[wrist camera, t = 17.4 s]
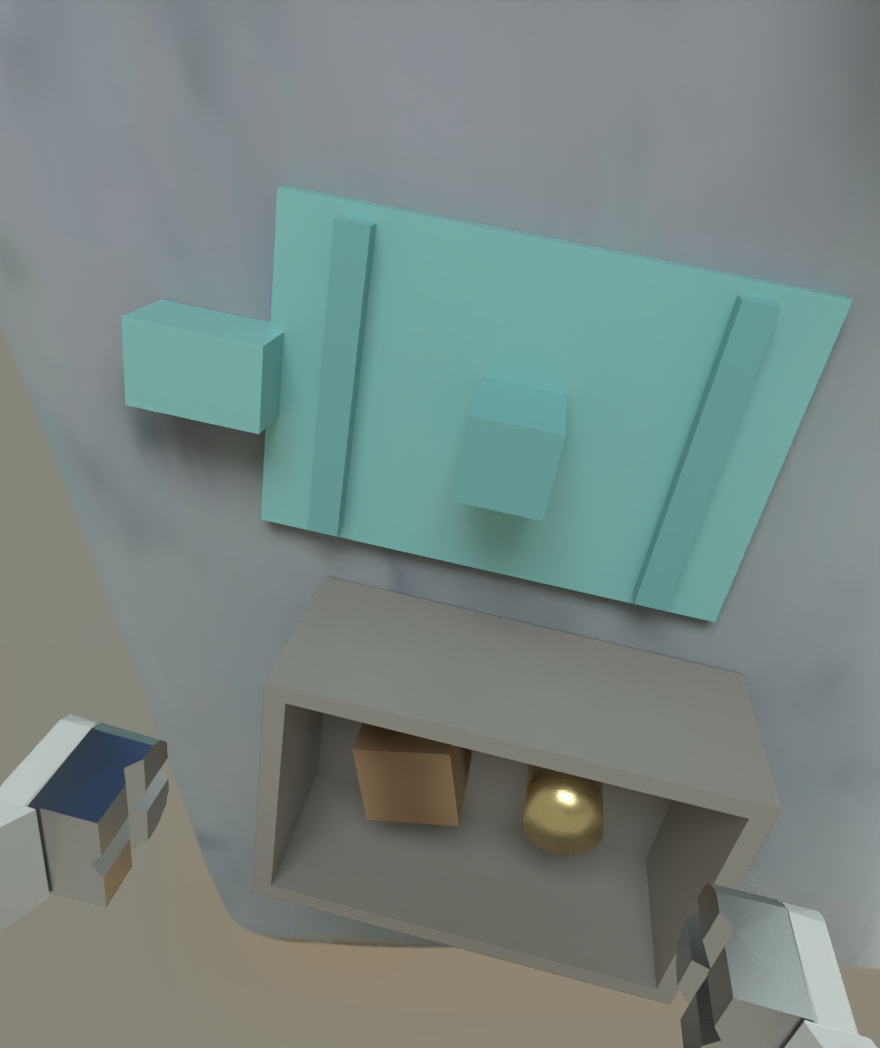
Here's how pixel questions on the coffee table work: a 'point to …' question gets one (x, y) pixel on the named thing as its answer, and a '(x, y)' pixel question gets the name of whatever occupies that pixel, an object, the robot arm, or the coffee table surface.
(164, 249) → the coffee table surface
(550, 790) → the brass part
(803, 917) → the robot arm
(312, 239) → the lid
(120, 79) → the coffee table surface
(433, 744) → the walnut part
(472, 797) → the tub
